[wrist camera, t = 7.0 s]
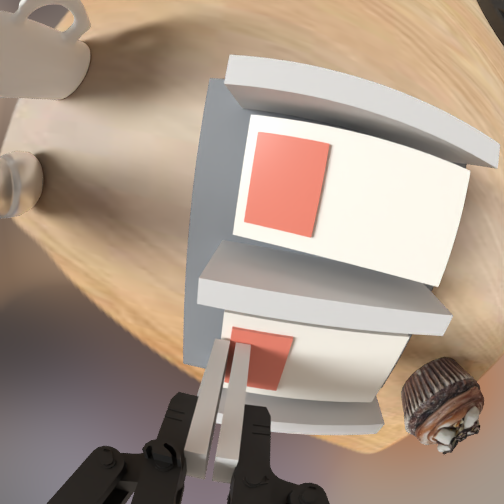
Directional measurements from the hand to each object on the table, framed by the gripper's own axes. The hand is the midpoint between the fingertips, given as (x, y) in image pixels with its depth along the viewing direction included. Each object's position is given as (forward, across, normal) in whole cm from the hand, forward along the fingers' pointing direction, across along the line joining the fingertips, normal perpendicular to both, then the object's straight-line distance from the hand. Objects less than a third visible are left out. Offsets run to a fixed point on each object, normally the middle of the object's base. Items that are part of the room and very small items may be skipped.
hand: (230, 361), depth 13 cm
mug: (+9, -18, +19) cm, 28 cm away
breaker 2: (+2, +4, 0) cm, 5 cm away
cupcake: (+9, +24, -9) cm, 27 cm away
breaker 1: (+2, +4, +9) cm, 10 cm away
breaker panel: (+9, +5, +5) cm, 11 cm away
